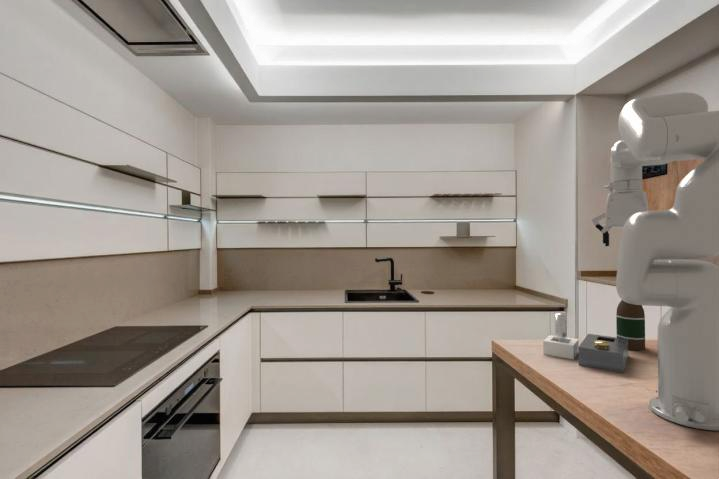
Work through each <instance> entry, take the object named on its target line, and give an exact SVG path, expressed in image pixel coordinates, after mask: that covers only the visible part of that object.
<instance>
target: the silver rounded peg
mask: <svg viewBox="0 0 719 479" xmlns="http://www.w3.org/2000/svg"><path fill="white" fill-rule="evenodd" d="M554 328H555V330H554V336H555V341H556V342H563V343H567V338H568V337H567V313H565V312H564V313H563V312H554ZM566 337H567V338H566Z"/></svg>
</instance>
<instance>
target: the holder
mask: <svg viewBox="0 0 719 479" xmlns="http://www.w3.org/2000/svg"><path fill="white" fill-rule="evenodd" d="M566 338H567V343H563V342H556V341H555V335H552V334H549V335H548V336H547V337H546V338H545V339H543V341H542V344H543V345H542V346H543V349H542V351H543V352H542V353H543V355H546V356H552V357H558V358H564V359H569V360H574V359H575V358H576V357H577V355H579V346H580V345H579V338H572V337H568V336H566Z"/></svg>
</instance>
